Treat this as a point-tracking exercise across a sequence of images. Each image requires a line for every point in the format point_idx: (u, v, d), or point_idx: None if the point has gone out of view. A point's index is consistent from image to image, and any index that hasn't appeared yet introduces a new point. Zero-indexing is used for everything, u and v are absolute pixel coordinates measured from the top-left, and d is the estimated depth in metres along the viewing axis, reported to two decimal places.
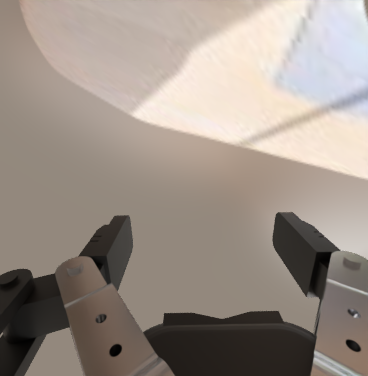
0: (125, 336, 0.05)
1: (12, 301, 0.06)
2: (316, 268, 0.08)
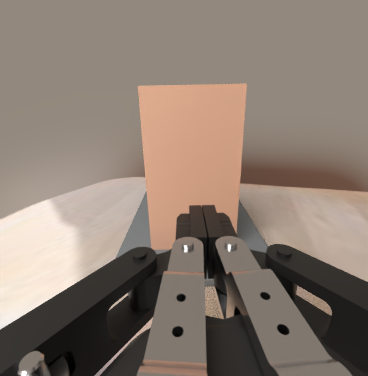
0: (190, 325, 0.05)
1: (134, 276, 0.07)
2: (211, 252, 0.09)
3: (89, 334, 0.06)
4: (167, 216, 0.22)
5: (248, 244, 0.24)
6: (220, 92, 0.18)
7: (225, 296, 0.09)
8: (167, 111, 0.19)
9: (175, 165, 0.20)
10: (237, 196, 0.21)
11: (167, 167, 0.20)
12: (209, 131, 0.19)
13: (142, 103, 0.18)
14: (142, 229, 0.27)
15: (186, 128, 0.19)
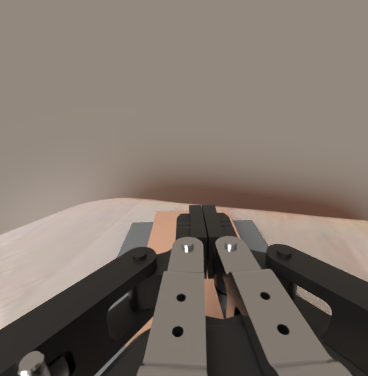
0: (190, 325, 0.05)
1: (134, 276, 0.07)
2: (211, 252, 0.09)
3: (89, 334, 0.06)
4: None
5: None
6: None
7: (225, 296, 0.09)
8: (174, 218, 0.26)
9: None
10: None
11: (170, 242, 0.21)
12: None
13: (157, 216, 0.26)
14: None
15: None
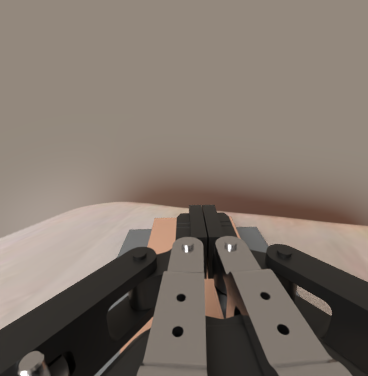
0: (190, 325, 0.05)
1: (133, 276, 0.07)
2: (211, 252, 0.09)
3: (89, 334, 0.06)
4: None
5: None
6: None
7: (225, 296, 0.09)
8: (174, 226, 0.24)
9: None
10: None
11: None
12: None
13: (155, 223, 0.24)
14: None
15: None
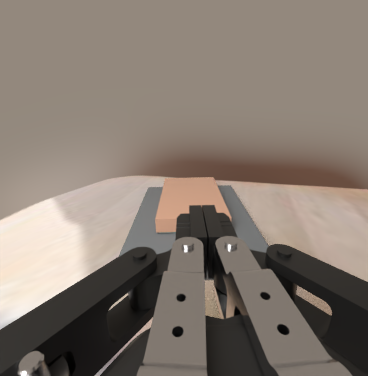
0: (190, 325, 0.05)
1: (134, 276, 0.07)
2: (211, 252, 0.09)
3: (89, 334, 0.06)
4: (172, 204, 0.29)
5: (247, 240, 0.25)
6: (202, 178, 0.40)
7: (225, 296, 0.09)
8: (177, 181, 0.39)
9: (180, 190, 0.34)
10: (221, 197, 0.31)
11: (175, 191, 0.34)
12: (198, 184, 0.37)
13: (166, 180, 0.39)
14: (145, 226, 0.28)
15: (186, 184, 0.37)
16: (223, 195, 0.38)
